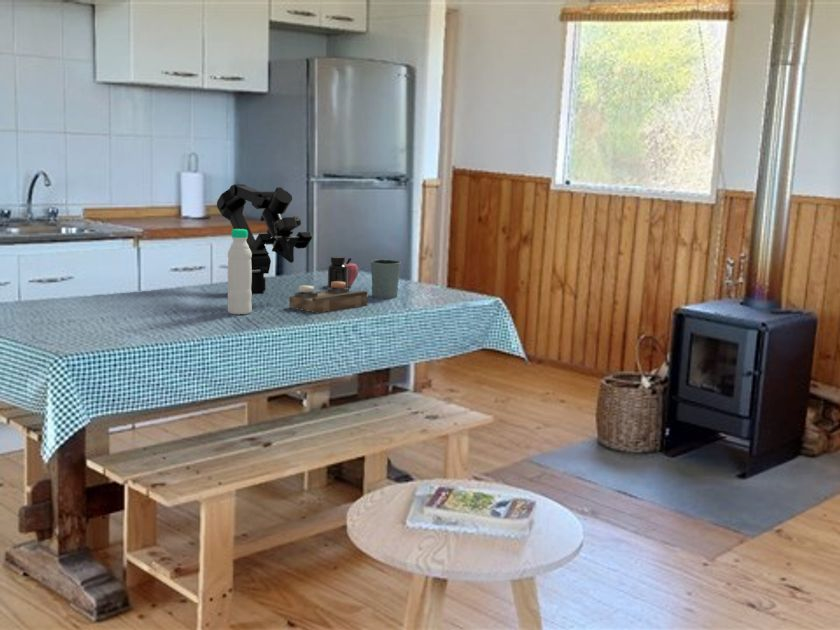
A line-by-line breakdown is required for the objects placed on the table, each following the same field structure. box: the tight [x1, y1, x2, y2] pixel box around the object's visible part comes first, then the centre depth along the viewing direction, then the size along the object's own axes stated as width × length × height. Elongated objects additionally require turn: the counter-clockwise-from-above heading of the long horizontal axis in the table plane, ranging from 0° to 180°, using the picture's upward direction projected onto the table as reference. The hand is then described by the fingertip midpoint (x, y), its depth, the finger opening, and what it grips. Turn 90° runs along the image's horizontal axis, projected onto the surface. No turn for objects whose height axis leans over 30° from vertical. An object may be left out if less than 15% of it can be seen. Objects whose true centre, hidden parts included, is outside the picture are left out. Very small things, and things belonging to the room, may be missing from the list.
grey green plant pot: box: [370, 258, 402, 300], centre depth 331 cm, size 10×10×12 cm
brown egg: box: [331, 281, 346, 289], centre depth 316 cm, size 5×5×6 cm
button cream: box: [298, 284, 315, 294], centre depth 305 cm, size 5×5×6 cm
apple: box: [344, 257, 360, 287], centre depth 349 cm, size 10×9×10 cm
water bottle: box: [227, 229, 253, 316], centre depth 292 cm, size 7×7×25 cm
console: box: [288, 287, 368, 313], centre depth 309 cm, size 12×22×5 cm, turn 140°
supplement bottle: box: [327, 256, 349, 289], centre depth 337 cm, size 7×7×12 cm
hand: (292, 261), depth 310 cm, fingers closed
